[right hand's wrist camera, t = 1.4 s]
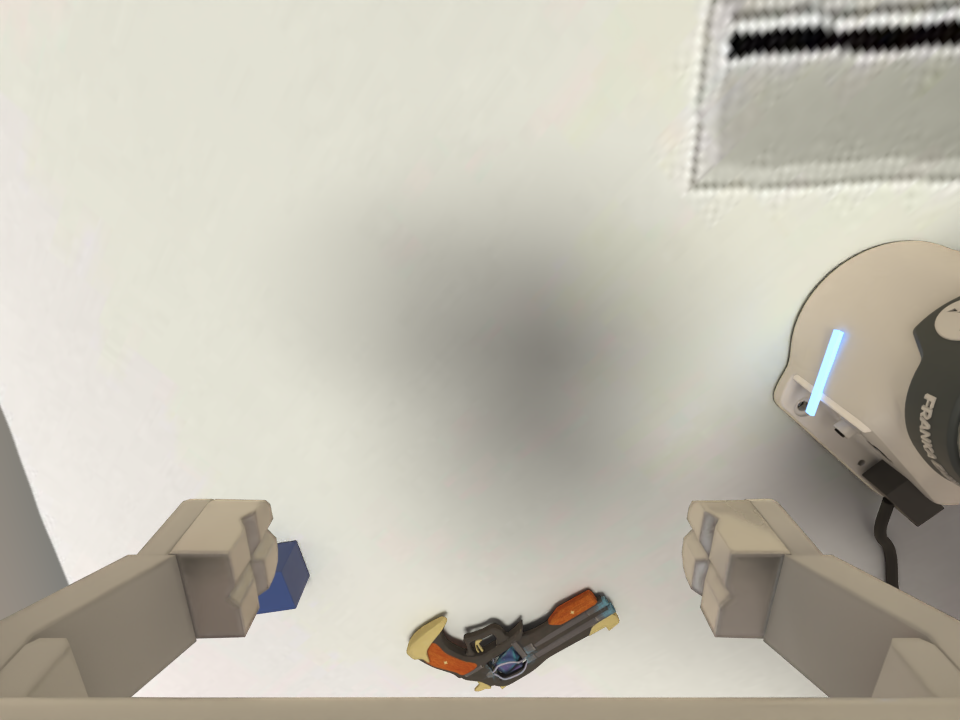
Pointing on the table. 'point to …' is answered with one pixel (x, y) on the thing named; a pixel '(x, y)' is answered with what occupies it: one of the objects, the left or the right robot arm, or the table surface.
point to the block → (285, 580)
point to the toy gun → (512, 642)
